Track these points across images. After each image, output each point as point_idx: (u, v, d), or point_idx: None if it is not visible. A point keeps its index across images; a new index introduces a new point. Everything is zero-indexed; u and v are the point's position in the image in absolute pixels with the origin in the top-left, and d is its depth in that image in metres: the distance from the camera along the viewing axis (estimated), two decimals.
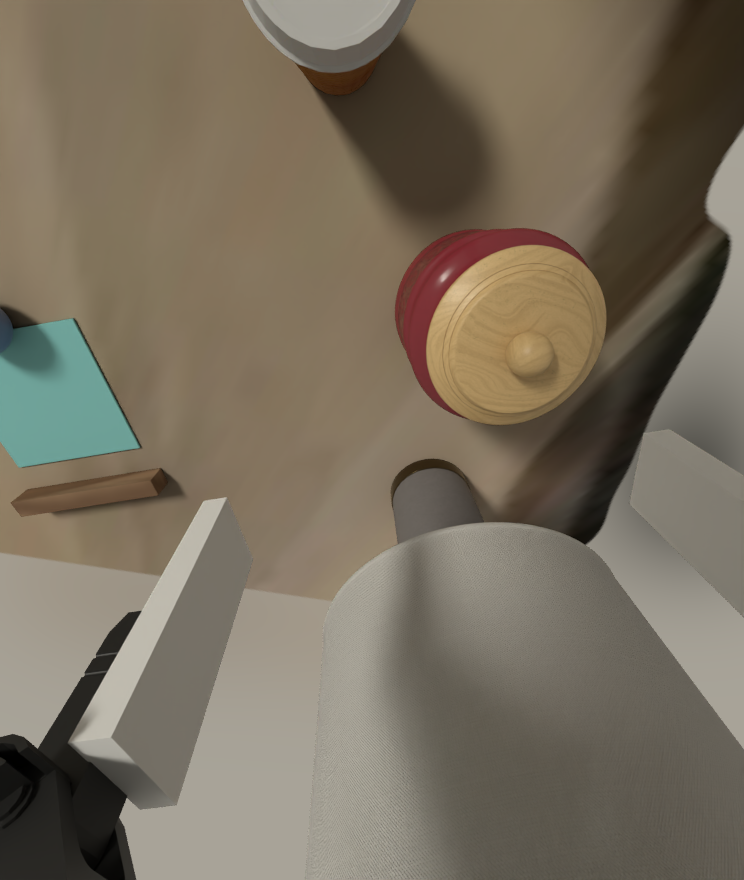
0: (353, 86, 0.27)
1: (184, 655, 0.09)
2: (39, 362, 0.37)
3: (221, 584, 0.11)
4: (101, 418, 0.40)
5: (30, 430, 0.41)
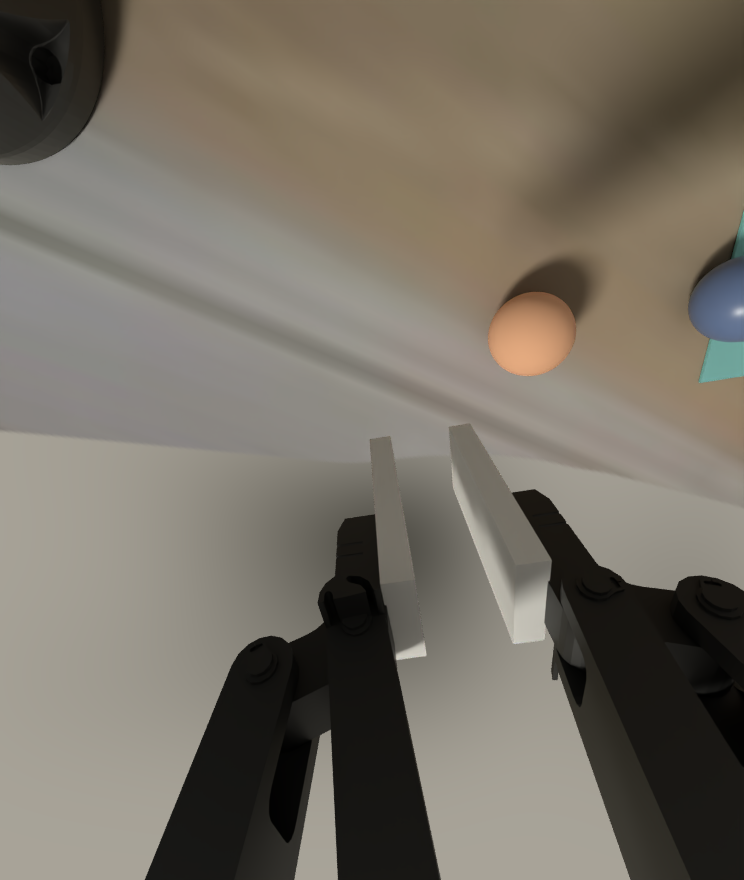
0: None
1: None
2: None
3: None
4: None
5: None
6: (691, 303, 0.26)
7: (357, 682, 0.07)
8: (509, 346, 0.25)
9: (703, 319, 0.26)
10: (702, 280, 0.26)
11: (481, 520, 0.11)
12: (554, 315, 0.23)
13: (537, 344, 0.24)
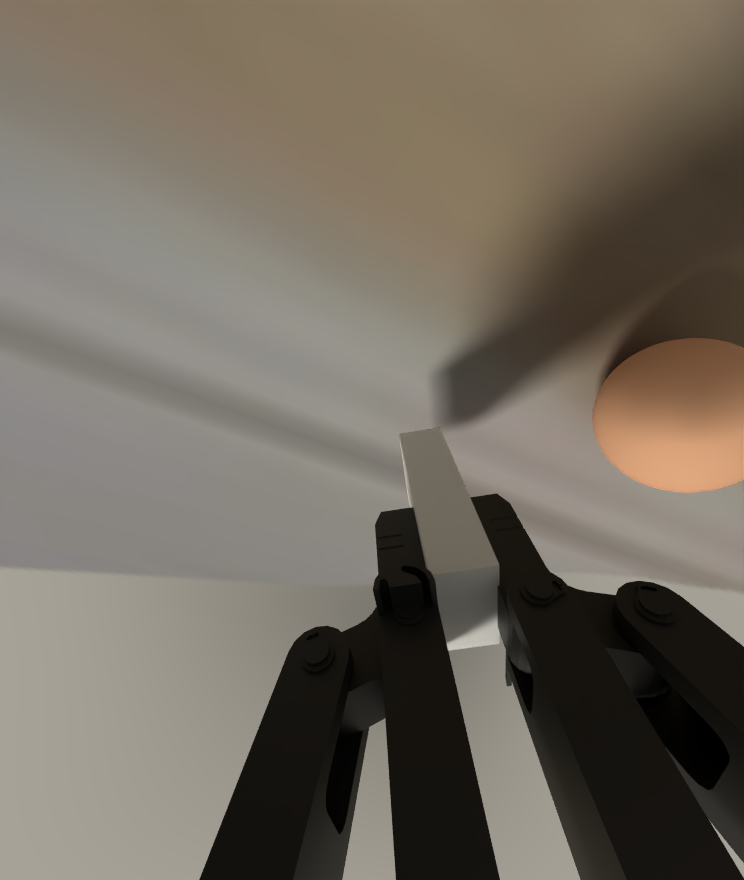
0: None
1: None
2: None
3: None
4: None
5: None
6: None
7: (411, 671, 0.07)
8: (656, 449, 0.12)
9: None
10: None
11: None
12: None
13: (725, 452, 0.12)
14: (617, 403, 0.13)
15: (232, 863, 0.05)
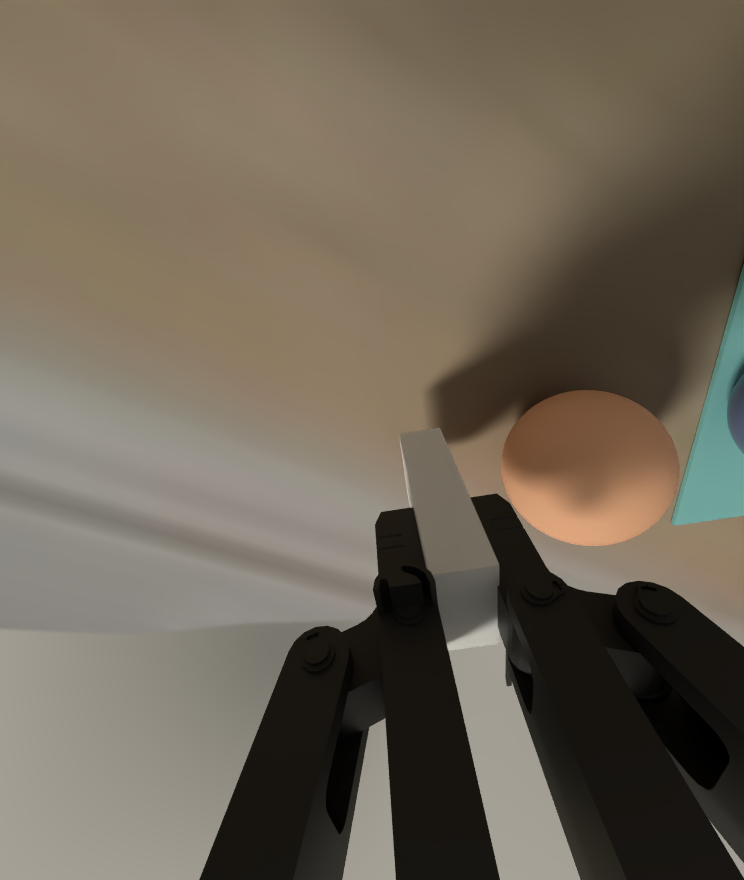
0: None
1: None
2: None
3: None
4: None
5: None
6: None
7: (411, 671, 0.07)
8: None
9: None
10: None
11: None
12: None
13: None
14: None
15: (232, 863, 0.05)
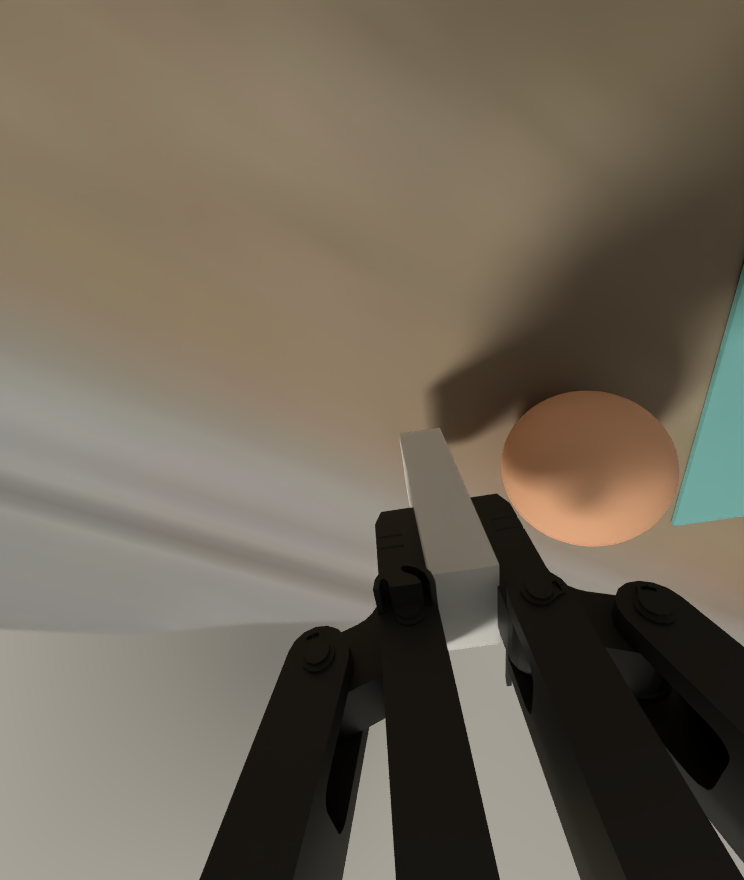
0: None
1: None
2: None
3: None
4: None
5: None
6: None
7: (411, 671, 0.07)
8: None
9: None
10: None
11: None
12: None
13: None
14: None
15: (232, 863, 0.05)
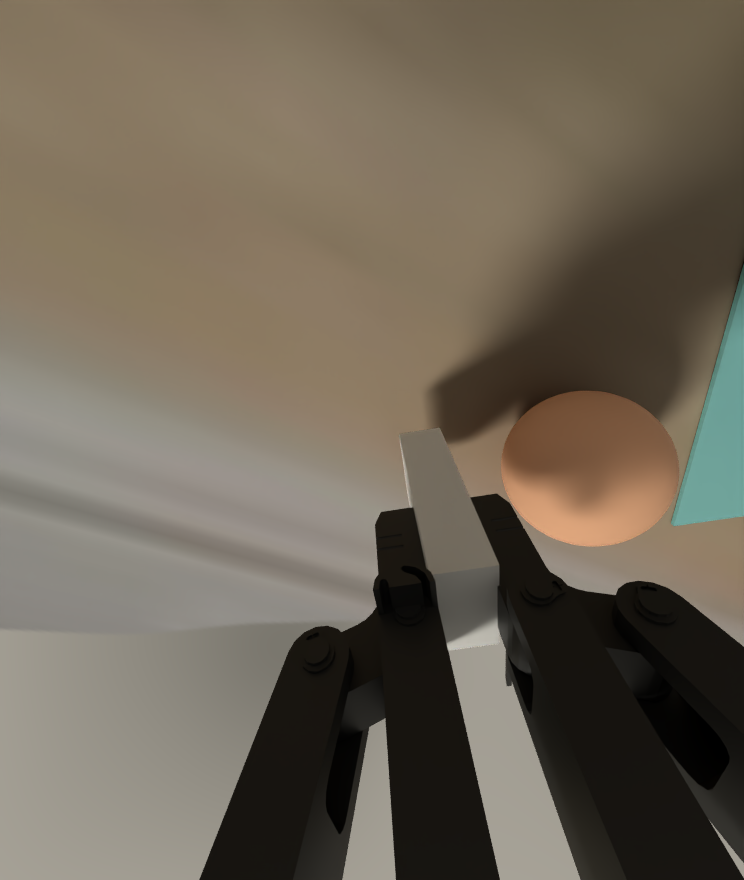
0: None
1: None
2: None
3: None
4: None
5: None
6: None
7: (411, 671, 0.07)
8: None
9: None
10: None
11: None
12: None
13: None
14: None
15: (232, 863, 0.05)
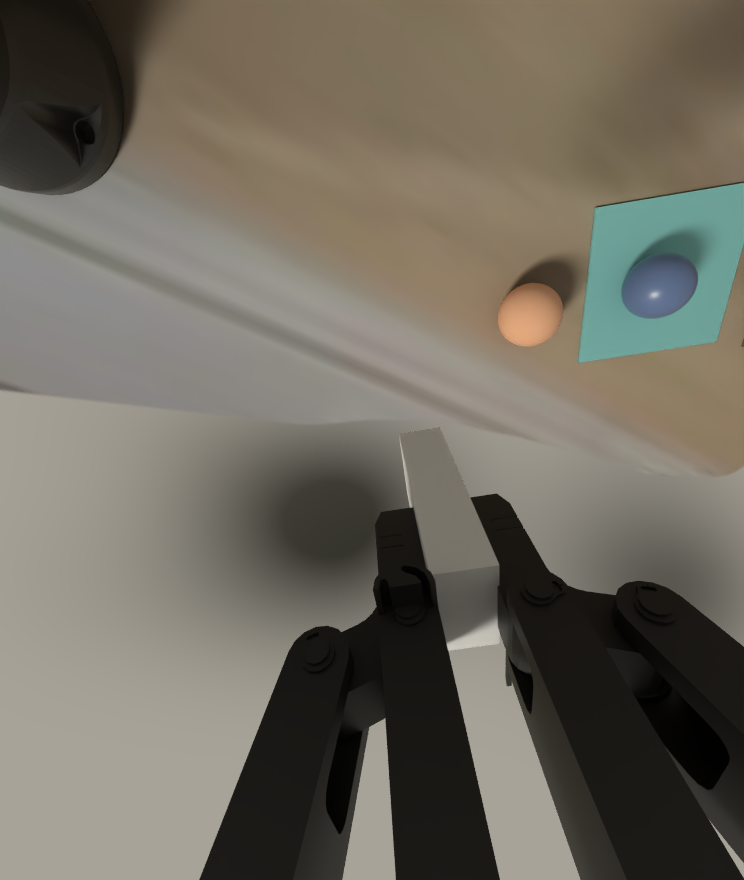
0: None
1: None
2: (625, 265, 0.36)
3: None
4: (705, 218, 0.34)
5: (684, 309, 0.38)
6: (687, 288, 0.32)
7: (411, 671, 0.07)
8: None
9: (692, 295, 0.33)
10: (683, 270, 0.32)
11: None
12: None
13: None
14: None
15: (232, 863, 0.05)
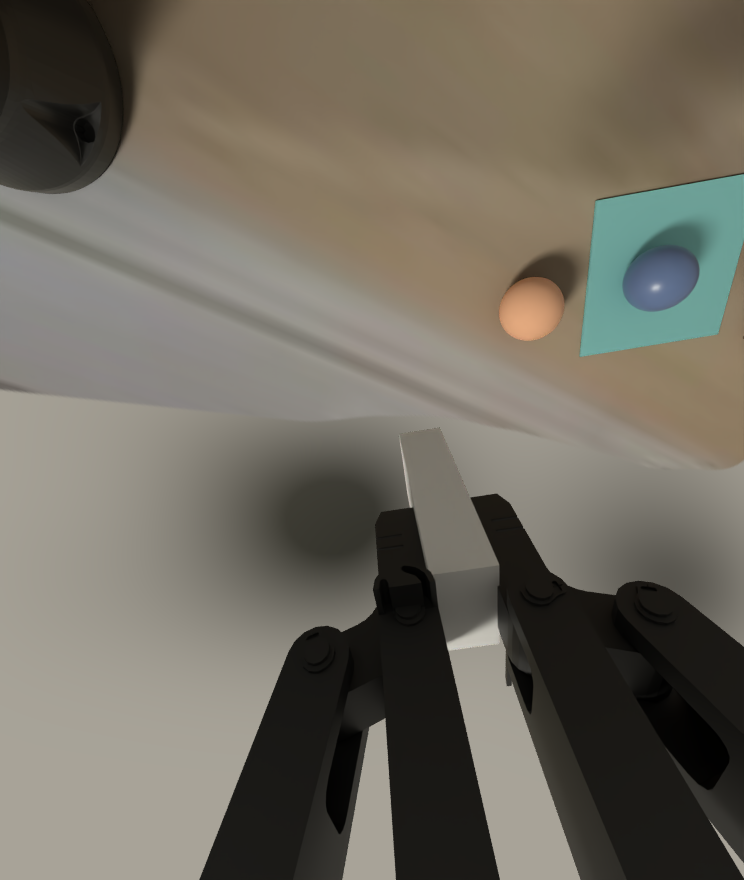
0: None
1: None
2: (626, 258, 0.36)
3: None
4: (706, 210, 0.34)
5: (686, 302, 0.38)
6: (689, 280, 0.32)
7: (411, 671, 0.07)
8: None
9: (694, 287, 0.33)
10: (685, 262, 0.31)
11: None
12: None
13: None
14: None
15: (232, 863, 0.05)
